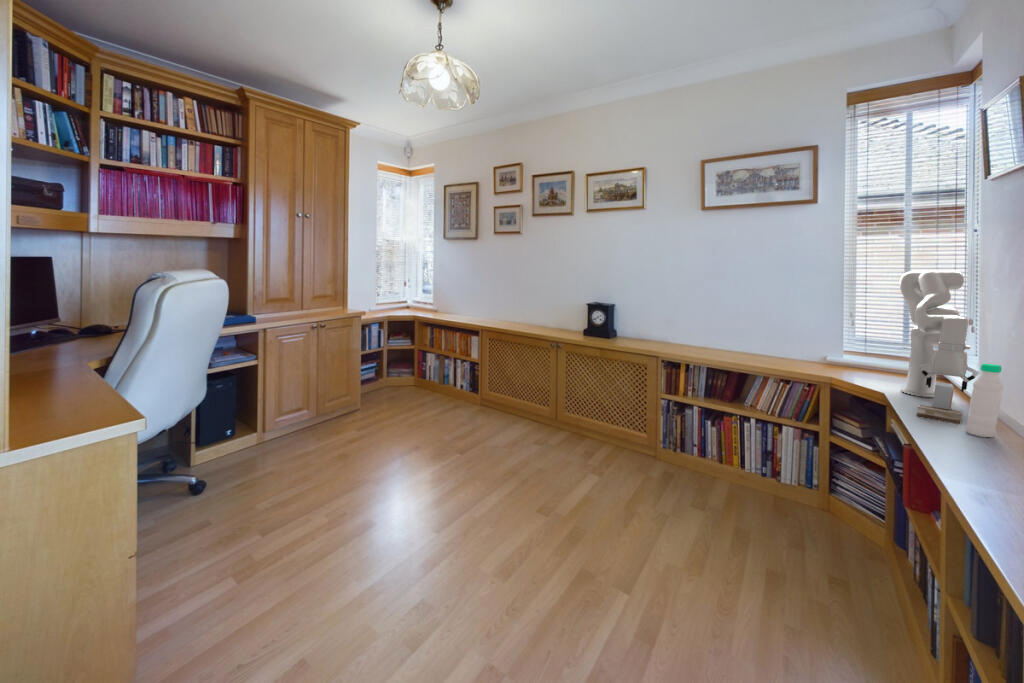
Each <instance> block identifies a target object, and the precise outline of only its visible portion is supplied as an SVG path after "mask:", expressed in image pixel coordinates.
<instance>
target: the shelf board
mask: <svg viewBox="0 0 1024 683" xmlns="http://www.w3.org/2000/svg"><path fill="white" fill-rule="evenodd" d="M962 414H963V413H962V410H955V409H943V408H937V407H932V405H923V404H920V405H917V409H916V416H918V417H917V418H921V417H923V418H922V419H927V418H929V420H933V419H934V421H938V420H940V422H944V421H945V423H950V422H951V423H950V424H956V425H961V421H962Z"/></svg>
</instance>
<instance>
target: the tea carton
mask: <svg viewBox="0 0 1024 683" xmlns="http://www.w3.org/2000/svg"><path fill="white" fill-rule="evenodd" d="M954 392H955V387H954V384H953V383H945V382H940V381H939V382H938V381H936V382H935V389H934V397H932V398H933V399H932V405H931V407H937V408H943V409H949V410H952V402H953V397H954Z"/></svg>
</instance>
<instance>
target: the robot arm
mask: <svg viewBox="0 0 1024 683" xmlns="http://www.w3.org/2000/svg"><path fill="white" fill-rule="evenodd" d="M964 283H965V278H964V275H963V273H962V272H960V271H958V270H955V269H953V270H947V269H946V270H945V269H944V270H912V271H908V272H905V273H903V274H902V275H901V277H900V280H899V288H900V292H901V294H902V296H903V298H904V299H905V301H906V303H907V305H908V311H909V315H910V320H911V322H912V324H913V325H915V326H914V327H913V328H912V329H911V330H910V356H909V357H910V358H909V363H908V371H907V378H906V384H905V387H902V388H901V389H900V391H901V392H902V393H903V392H904V393H903V394H906V393H907V394H906V395H909V394H911V395H910V396H914V395H915V397H921V396H922V397H923V398H933V397H934V391H935V385H936V382H937V375H941V376H948V377H949V376H950V377H958V378H959V377H960V378H961V379H962V382H961V388H960V389H961V391H960V392H962V393H963V392H965V390H967V388H968V383H969V382H971V381H972V380H974V379H975V378H977V377H978V375H979V374H980V372H979V371H978V370H976V369H973V368H972V367H970V366H968V353H967V352H968V351H965V350H970V349H971V346H970V345H966V340H967V335H968V334H967V333H968V325H969V320H968V318H966V317H963V316H961V314H960V313H959V310H958V309H957V308H956V307H953V306H945V305H946V304H947V303H949V302H950V300H951V298H952V296H951V292H950V290H953V291H955V290H957V291H958V290H960V289H961V288H962V287H963V286H964ZM943 305H944V306H943ZM934 348H937V349H934ZM967 371H968V372H970V373H972V374H971V375H969V376H968V377H967V376H966V375H967V374H966V373H967ZM922 397H921V398H922Z"/></svg>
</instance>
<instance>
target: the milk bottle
mask: <svg viewBox="0 0 1024 683" xmlns="http://www.w3.org/2000/svg"><path fill="white" fill-rule="evenodd" d="M980 372H981V374H980V375H979V376H977V379H975V380H974V381H973V383H972V387H973V388H972V392H971V396H970V401H969V413H968V414H967V422H966V425H965V432H966V433H967V434H969V435H971V434H972V436H974V435H975V436H976V437H979V436H980V437H979V438H986V437H990V438H993V437H995V435H996V427H997V424H998V414H999V411H1000V407H1001V403H1002V402H1001V401H1002V393H1003V389H1004V385H1003V383H1002V381H1001V378H1000V377H999V375H1000V374H1001V373H1002V366H1001V365H999V364H995V363H981V365H980Z"/></svg>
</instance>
